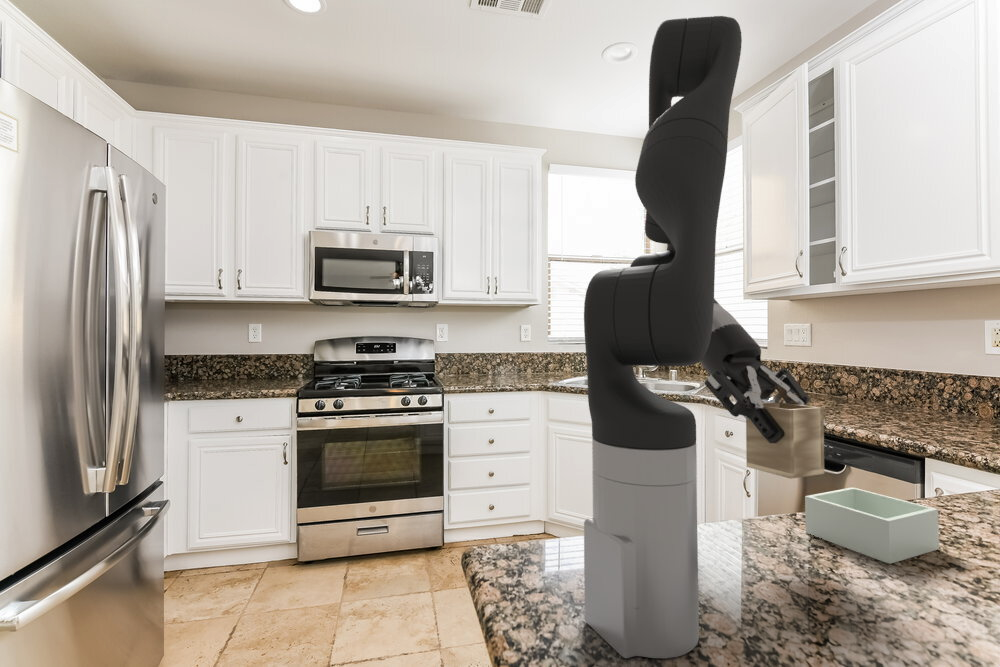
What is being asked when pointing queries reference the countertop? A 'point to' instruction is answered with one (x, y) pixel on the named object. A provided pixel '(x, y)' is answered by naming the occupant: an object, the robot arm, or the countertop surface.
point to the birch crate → (789, 442)
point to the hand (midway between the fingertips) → (797, 437)
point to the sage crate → (873, 523)
